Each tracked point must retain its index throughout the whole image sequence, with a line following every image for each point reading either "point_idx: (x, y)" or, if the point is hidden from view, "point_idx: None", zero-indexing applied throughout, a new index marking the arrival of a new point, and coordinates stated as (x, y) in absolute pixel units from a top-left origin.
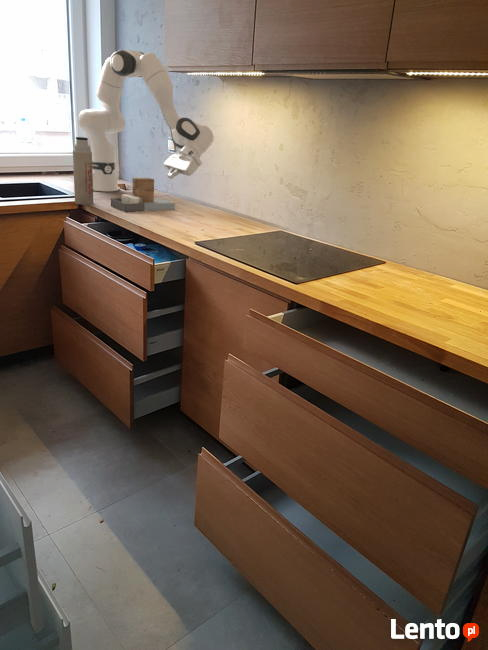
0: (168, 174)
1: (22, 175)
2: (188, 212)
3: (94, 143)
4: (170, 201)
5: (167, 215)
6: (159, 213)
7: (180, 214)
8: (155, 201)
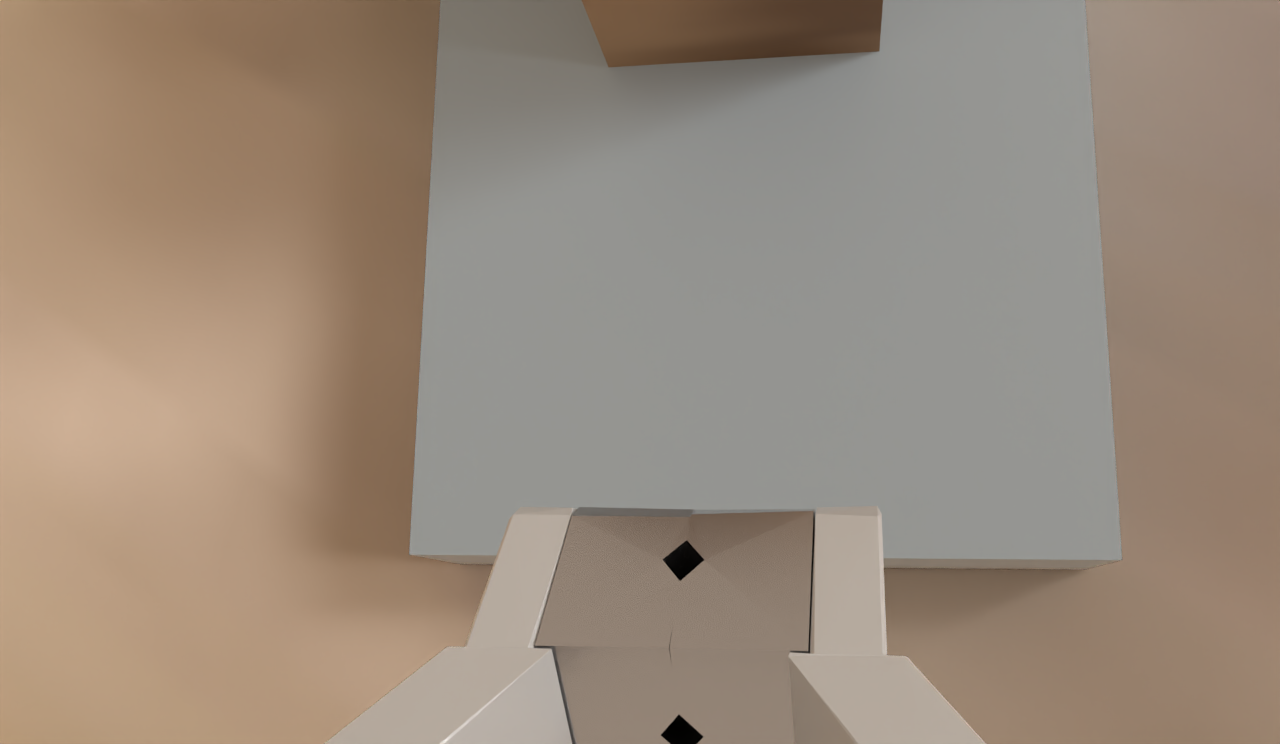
0: (794, 552)
1: None
2: (97, 689)
3: None
4: None
5: (27, 97)
6: (215, 37)
7: (6, 392)
8: (672, 146)
